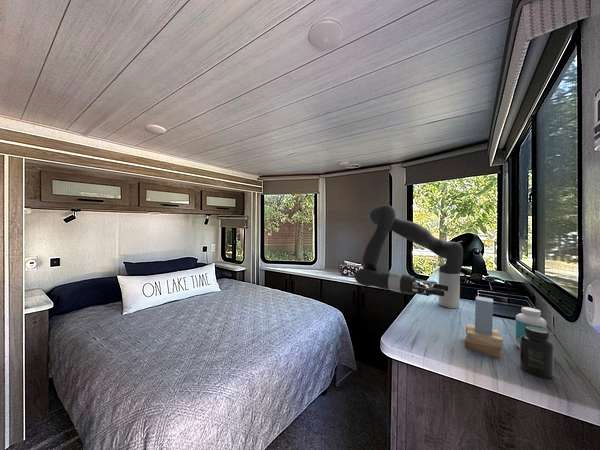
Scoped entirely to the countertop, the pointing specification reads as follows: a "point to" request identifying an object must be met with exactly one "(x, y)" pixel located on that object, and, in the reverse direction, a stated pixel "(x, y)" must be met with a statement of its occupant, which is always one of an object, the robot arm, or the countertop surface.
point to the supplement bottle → (537, 352)
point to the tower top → (484, 337)
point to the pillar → (483, 315)
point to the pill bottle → (528, 322)
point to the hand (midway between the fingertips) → (446, 290)
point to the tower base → (482, 348)
